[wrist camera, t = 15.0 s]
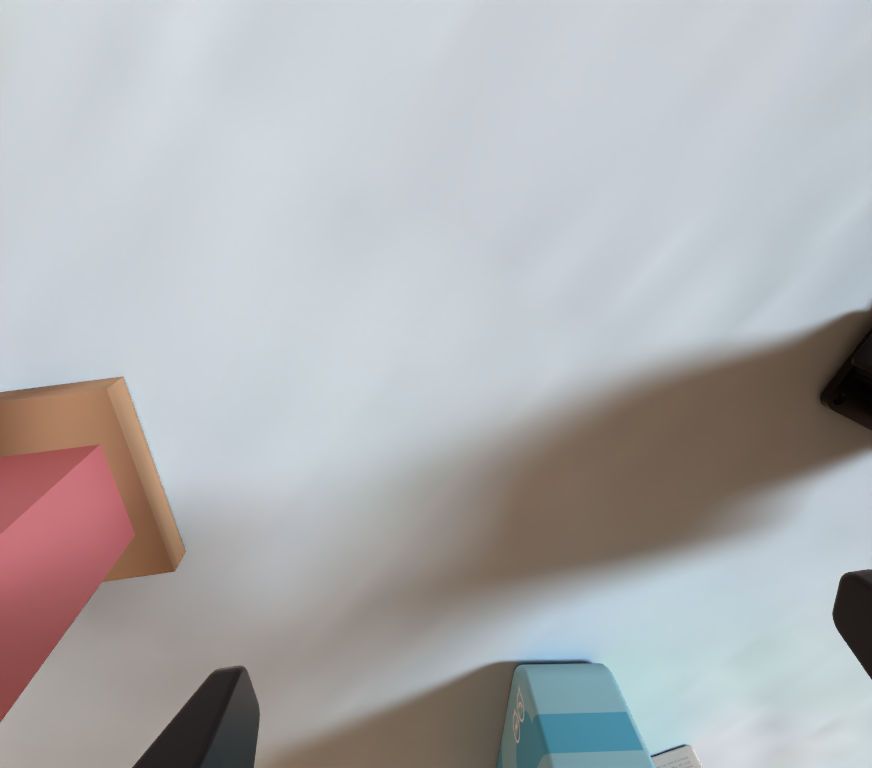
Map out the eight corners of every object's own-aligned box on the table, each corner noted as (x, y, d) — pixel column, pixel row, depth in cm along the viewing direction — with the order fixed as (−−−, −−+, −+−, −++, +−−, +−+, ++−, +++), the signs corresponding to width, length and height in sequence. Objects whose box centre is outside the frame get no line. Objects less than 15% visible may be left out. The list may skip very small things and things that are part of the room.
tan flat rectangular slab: (123, 376, 19) (106, 388, 18) (185, 551, 22) (174, 571, 21) (-154, 412, 18) (-189, 426, 17) (-52, 585, 21) (-76, 607, 20)
